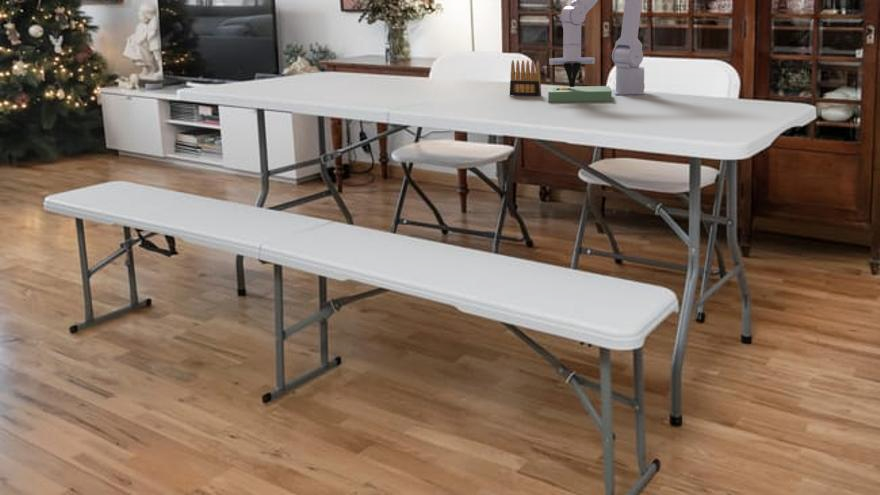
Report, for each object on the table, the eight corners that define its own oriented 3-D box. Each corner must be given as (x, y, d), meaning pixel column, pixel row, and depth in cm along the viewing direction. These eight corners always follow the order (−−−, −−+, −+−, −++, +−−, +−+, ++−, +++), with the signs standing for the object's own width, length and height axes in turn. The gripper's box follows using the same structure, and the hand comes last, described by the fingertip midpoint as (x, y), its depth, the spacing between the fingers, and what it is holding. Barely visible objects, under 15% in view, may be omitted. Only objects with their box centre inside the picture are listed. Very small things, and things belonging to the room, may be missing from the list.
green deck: (609, 96, 331) (609, 86, 330) (611, 101, 317) (611, 91, 316) (548, 96, 333) (548, 86, 332) (548, 102, 320) (548, 92, 319)
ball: (558, 100, 327) (567, 100, 325) (555, 91, 325) (564, 90, 323) (562, 94, 329) (571, 94, 327) (559, 85, 327) (568, 85, 325)
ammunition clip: (541, 95, 337) (541, 59, 333) (539, 96, 335) (539, 60, 332) (511, 95, 341) (511, 59, 337) (509, 95, 339) (509, 60, 336)
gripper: (593, 42, 324) (592, 84, 328) (548, 43, 325) (548, 85, 328) (595, 44, 317) (595, 87, 321) (550, 45, 318) (550, 88, 322)
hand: (571, 86), depth 324 cm, fingers closed
